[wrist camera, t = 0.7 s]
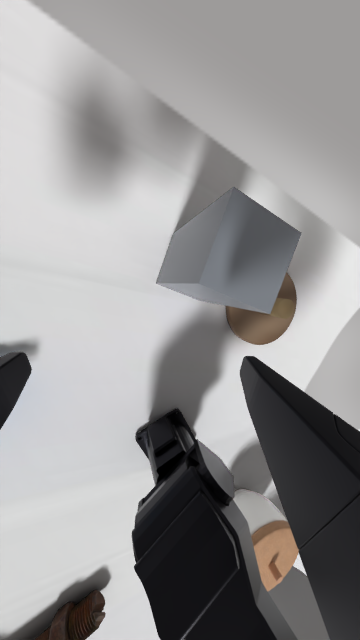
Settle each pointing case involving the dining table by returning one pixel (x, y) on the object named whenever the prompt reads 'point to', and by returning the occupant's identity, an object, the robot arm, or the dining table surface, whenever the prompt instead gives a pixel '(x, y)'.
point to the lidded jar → (268, 536)
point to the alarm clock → (299, 606)
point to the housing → (231, 254)
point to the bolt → (76, 619)
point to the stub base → (265, 317)
